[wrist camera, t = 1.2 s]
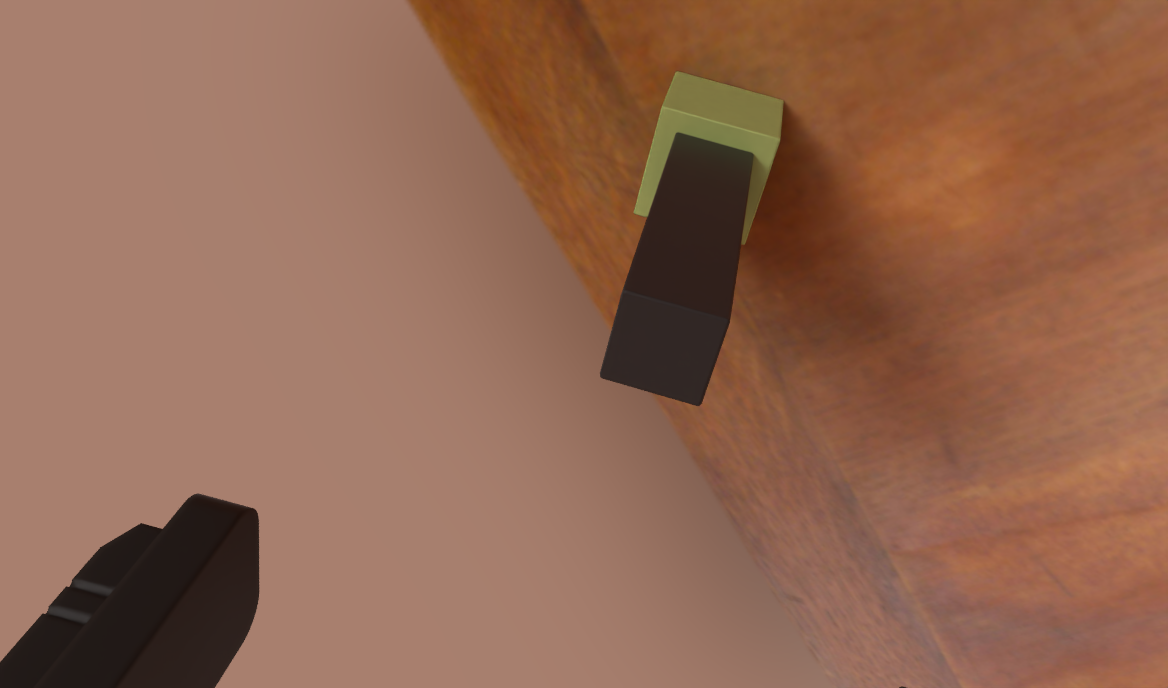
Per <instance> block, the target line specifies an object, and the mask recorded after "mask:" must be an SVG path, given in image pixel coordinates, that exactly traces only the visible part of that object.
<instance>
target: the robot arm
mask: <svg viewBox="0 0 1168 688" xmlns="http://www.w3.org/2000/svg"><path fill="white" fill-rule="evenodd" d="M258 598H259V519H258V513H257V511H256V510H255V509H253V508H250V507H246V506H243V505H239V504H235V503H231V502H228V501H224V500H220V499H217V498H213V497H209V496H206V495H202V494H194V495H193V496H191V497H190V498H188V499H187V500H186V502H185V503H184V504H183V505H182V506H181V507H180V509H179V510H178V511H177V512H176V514H175V515H174V516H173V517H172V518H171V520H170V521H169V522H168V523H167V525H166V526H165V527H164V528H163V529H160V528H157V527H153V526H149V525H146V524H142V523H141V524H140V525H137V526H136V527H134V528H132V529H131V530H129V531H127V532H126V533H124V534H122V535H121V536H119V537H117V538H115V539H114V540H112V541H110V542H109V543H107V544H105V545H104V546H102V547H100V549H99V550H98V551H97V552H96V553H95V554H94V555H93V557H92V558H91V559H90V560H89V561H88V562H87V563H86V565H85V566H84V567H83V568H82V569H81V570H80V572H79V573H78V574H77V575H76V576H75V577H74V578H73V580H72V583H71V585H70V587H65V589H64V590H63V591H62V592H61V593H60V594H59V596H58V597H57V598H56V599H55V600H54V601H53V603H52V604H51V605H50V606H49V609H48V611H47V613H46V614H42V615H41V616H40V617H39V618H38V619H37V621H36V622H35V623H34V624H33V625H32V626H31V628H30V629H29V630H28V631H27V632H26V633H25V634H24V636H23V637H22V638H21V639H20V640H19V641H18V642H17V644H16V645H15V646H14V647H13V648H12V649H11V650H10V652H9V653H8V654H7V655H6V656H5V657H4V658H3V660H2V661H1V662H0V688H215V686H216V685H217V683H218V682H219V680H220V678H221V677H222V675H223V674H224V672H225V670H226V669H227V667H228V666H229V664H230V663H231V661H232V659H233V658H234V656H235V655H236V653H237V651H238V650H239V648H240V647H241V645H242V643H243V642H244V640H245V638H246V636H247V634H248V632H249V630H250V627H251V624H252V622H253V619H254V615H255V613H256V609H257V604H258ZM899 688H906V687H899Z"/></svg>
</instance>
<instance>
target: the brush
mask: <svg viewBox="0 0 1168 688" xmlns="http://www.w3.org/2000/svg"><path fill="white" fill-rule="evenodd" d="M783 106H784V101H783V100H781V99H777V98H773V97H770V96H766V95H762V94H759V93H755V92H751V91H748V90H744V89H741V88H737V87H733V86H730V85H726V84H722V83H719V82H715V81H712V80H708V79H704V78H701V77H697V76H693V75H690V74H686V73H682V72H679V71H676V72H675V75H674V77H673V80H672V82H671V85H670V87H669V90H668V93H667V95H666V98H665V100H664V103H663V105H662V108H661V112H660V115H659V119H658V123H657V127H656V130H655V134H654V138H653V142H652V146H651V149H650V153H649V157H648V161H647V164H646V168H645V172H644V176H643V179H642V183H641V187H640V191H639V194H638V198H637V202H636V206H635V209H634V214H636V215H640V216H644V217H647V220H646V223H645V226H644V229H643V231H642V234H641V237H640V240H639V243H638V246H637V249H636V252H635V255H634V258H633V261H632V264H631V267H630V270H629V273H628V276H627V279H626V282H625V285H624V288H623V291H622V294H621V298H620V302H619V305H618V309H617V313H616V316H615V320H614V324H613V327H612V331H611V335H610V338H609V342H608V346H607V350H606V353H605V357H604V360H603V364H602V368H601V372H600V377H601V378H603V379H606V380H610V381H613V382H617V383H620V384H624V385H627V386H631V387H634V388H637V389H641V390H644V391H648V392H651V393H655V394H658V395H661V396H665V397H668V398H672V399H675V400H679V401H682V402H685V403H689V404H692V405H696V406H700V405H701V404H702V401H703V398H704V395H705V392H706V390H707V387H708V384H709V381H710V378H711V375H712V372H713V369H714V367H715V364H716V361H717V358H718V355H719V352H720V349H721V346H722V343H723V341H724V338H725V335H726V332H727V329H728V326H729V323H730V318H731V311H732V304H733V297H734V290H735V283H736V276H737V269H738V263H739V256H740V249H741V244H743V245H744V244H745V243H746V240H747V237H748V234H749V231H750V228H751V226H752V223H753V220H754V217H755V214H756V211H757V208H758V205H759V202H760V199H761V196H762V193H763V190H764V187H765V184H766V181H767V178H768V176H769V173H770V170H771V167H772V164H773V161H774V158H775V155H776V152H777V149H778V146H779V143H780V140H781V128H782V117H783Z"/></svg>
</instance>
